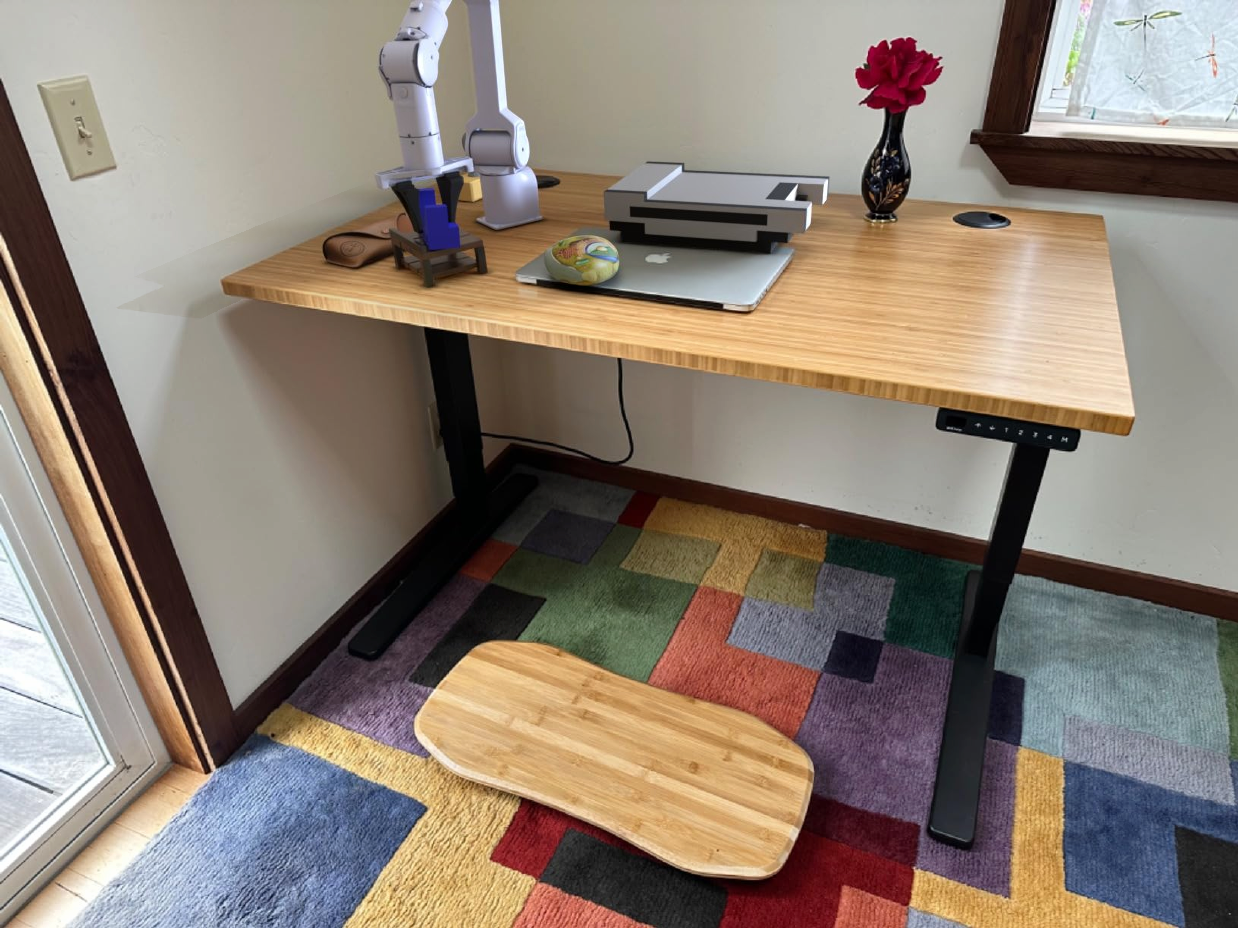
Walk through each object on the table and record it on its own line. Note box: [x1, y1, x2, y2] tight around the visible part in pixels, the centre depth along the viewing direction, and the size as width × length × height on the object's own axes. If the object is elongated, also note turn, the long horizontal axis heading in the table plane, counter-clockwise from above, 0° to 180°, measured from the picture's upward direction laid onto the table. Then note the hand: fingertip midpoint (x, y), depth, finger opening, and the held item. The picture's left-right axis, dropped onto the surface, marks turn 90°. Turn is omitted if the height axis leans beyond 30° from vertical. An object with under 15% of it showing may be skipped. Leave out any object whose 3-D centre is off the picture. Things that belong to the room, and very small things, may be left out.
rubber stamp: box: [458, 131, 482, 203], centre depth 168 cm, size 10×6×12 cm, turn 150°
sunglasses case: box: [321, 212, 414, 268], centre depth 143 cm, size 18×7×7 cm
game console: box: [602, 160, 831, 254], centre depth 142 cm, size 21×32×8 cm, turn 69°
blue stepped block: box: [418, 187, 460, 250], centre depth 129 cm, size 12×4×6 cm, turn 20°
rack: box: [389, 228, 488, 288], centre depth 132 cm, size 10×12×6 cm
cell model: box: [543, 234, 620, 286], centre depth 126 cm, size 11×8×15 cm
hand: (434, 228), depth 130 cm, fingers closed on blue stepped block, 4 cm apart
